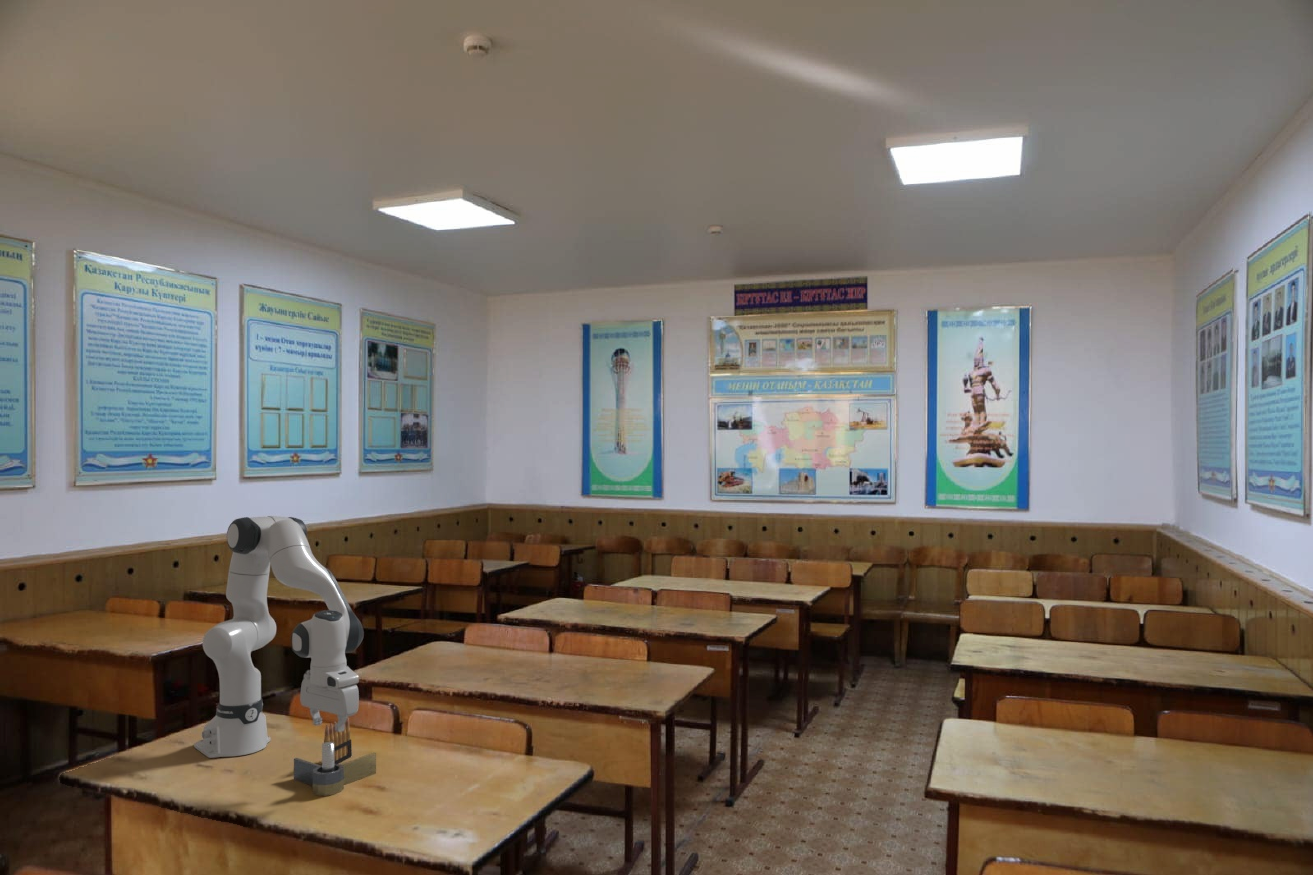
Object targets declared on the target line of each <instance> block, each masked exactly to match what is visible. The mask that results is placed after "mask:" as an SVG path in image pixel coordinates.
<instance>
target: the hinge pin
mask: <svg viewBox="0 0 1313 875" xmlns="http://www.w3.org/2000/svg"><path fill="white" fill-rule="evenodd" d="M321 759H322V760H321V766H322V773H328V772H333V771H334V742H325V743H324V742H323V743H322V744H321Z"/></svg>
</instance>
